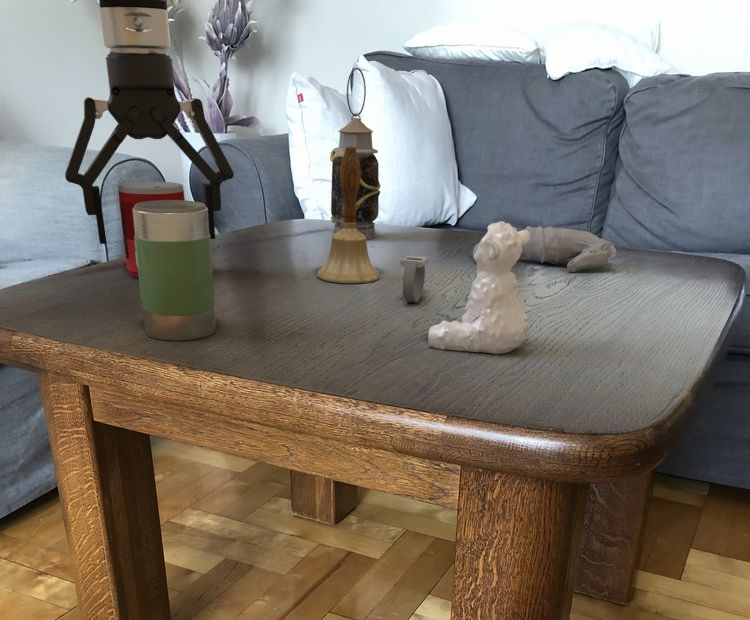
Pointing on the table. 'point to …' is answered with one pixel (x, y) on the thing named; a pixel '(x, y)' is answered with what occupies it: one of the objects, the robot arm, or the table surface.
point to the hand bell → (349, 233)
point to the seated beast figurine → (490, 299)
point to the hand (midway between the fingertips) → (157, 240)
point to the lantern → (369, 174)
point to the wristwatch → (413, 277)
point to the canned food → (137, 194)
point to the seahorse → (566, 248)
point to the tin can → (175, 269)
